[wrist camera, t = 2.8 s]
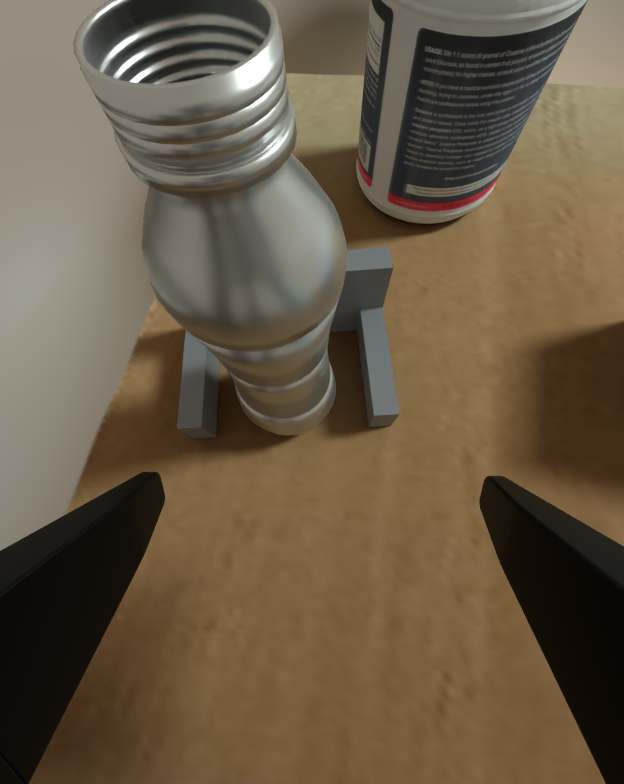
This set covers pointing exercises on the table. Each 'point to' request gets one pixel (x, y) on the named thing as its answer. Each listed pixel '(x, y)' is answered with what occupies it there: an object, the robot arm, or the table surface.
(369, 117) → the supplement tub
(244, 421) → the table surface
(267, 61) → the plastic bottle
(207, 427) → the bottle holder
